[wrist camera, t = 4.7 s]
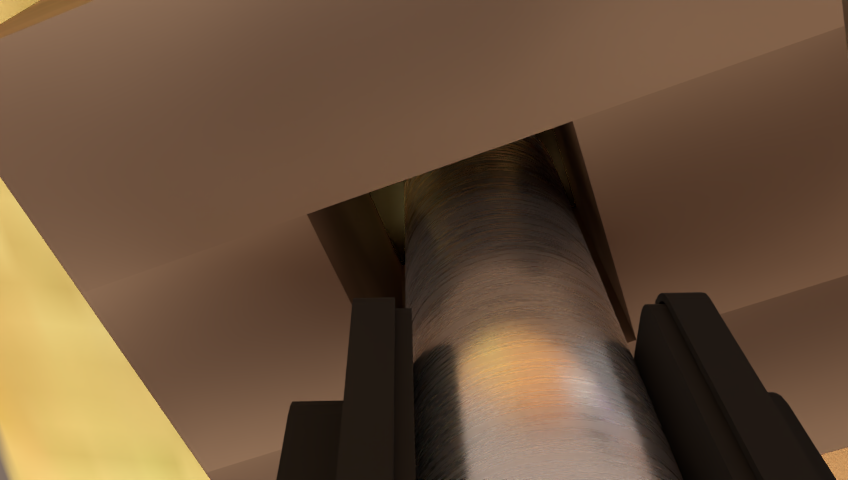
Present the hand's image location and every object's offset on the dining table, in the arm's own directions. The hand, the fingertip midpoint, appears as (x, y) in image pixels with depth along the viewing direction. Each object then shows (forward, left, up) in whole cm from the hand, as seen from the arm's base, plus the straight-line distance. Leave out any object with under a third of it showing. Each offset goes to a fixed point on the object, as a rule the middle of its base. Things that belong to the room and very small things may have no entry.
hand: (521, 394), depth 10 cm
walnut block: (0, 0, -8) cm, 8 cm away
